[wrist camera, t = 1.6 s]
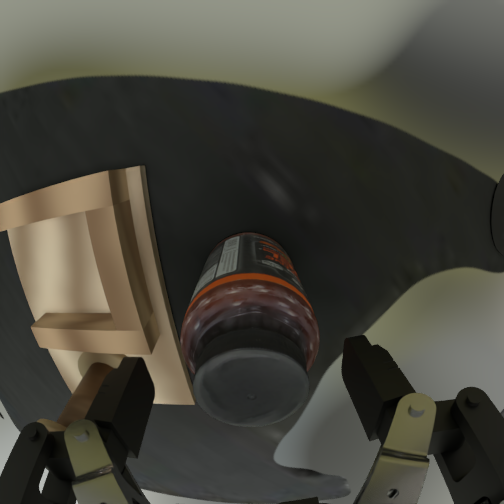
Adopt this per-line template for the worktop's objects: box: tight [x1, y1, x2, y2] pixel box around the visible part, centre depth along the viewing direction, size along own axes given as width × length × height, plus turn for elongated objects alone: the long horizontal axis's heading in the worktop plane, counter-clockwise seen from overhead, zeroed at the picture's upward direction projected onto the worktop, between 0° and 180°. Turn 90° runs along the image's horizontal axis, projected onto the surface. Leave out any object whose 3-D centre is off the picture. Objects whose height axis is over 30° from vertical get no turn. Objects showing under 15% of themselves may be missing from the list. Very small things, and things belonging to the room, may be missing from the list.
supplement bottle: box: [180, 232, 320, 427], centre depth 14 cm, size 6×6×11 cm
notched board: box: [0, 165, 196, 405], centre depth 18 cm, size 14×20×4 cm
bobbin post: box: [37, 352, 127, 432], centre depth 16 cm, size 6×6×10 cm
